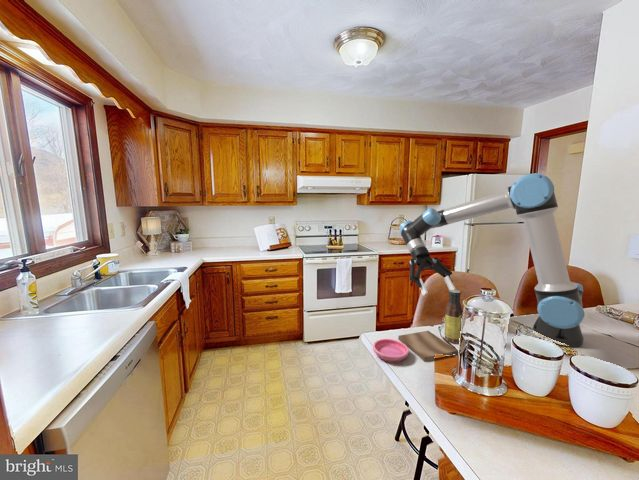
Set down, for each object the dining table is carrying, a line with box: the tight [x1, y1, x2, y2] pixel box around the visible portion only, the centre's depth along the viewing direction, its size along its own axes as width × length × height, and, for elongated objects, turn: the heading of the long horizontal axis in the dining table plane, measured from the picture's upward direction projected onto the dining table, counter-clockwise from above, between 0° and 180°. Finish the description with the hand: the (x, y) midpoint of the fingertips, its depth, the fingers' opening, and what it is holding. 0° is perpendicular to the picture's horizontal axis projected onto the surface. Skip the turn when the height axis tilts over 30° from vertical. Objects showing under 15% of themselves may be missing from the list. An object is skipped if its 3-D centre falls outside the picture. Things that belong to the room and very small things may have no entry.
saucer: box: [372, 338, 410, 363], centre depth 97 cm, size 12×12×3 cm
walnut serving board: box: [397, 330, 459, 362], centre depth 102 cm, size 14×16×2 cm
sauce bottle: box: [444, 289, 464, 344], centre depth 105 cm, size 7×6×20 cm
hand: (439, 292), depth 112 cm, fingers open, 13 cm apart
